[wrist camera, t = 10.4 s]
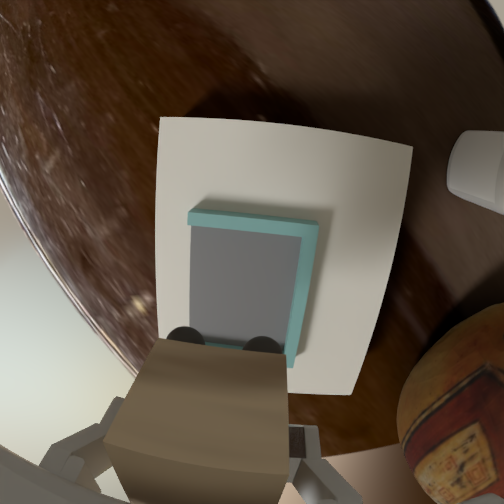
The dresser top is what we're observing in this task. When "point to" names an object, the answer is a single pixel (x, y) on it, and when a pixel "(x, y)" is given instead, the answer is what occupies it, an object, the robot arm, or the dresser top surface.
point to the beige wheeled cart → (204, 424)
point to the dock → (278, 239)
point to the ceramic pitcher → (457, 411)
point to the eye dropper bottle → (478, 169)
